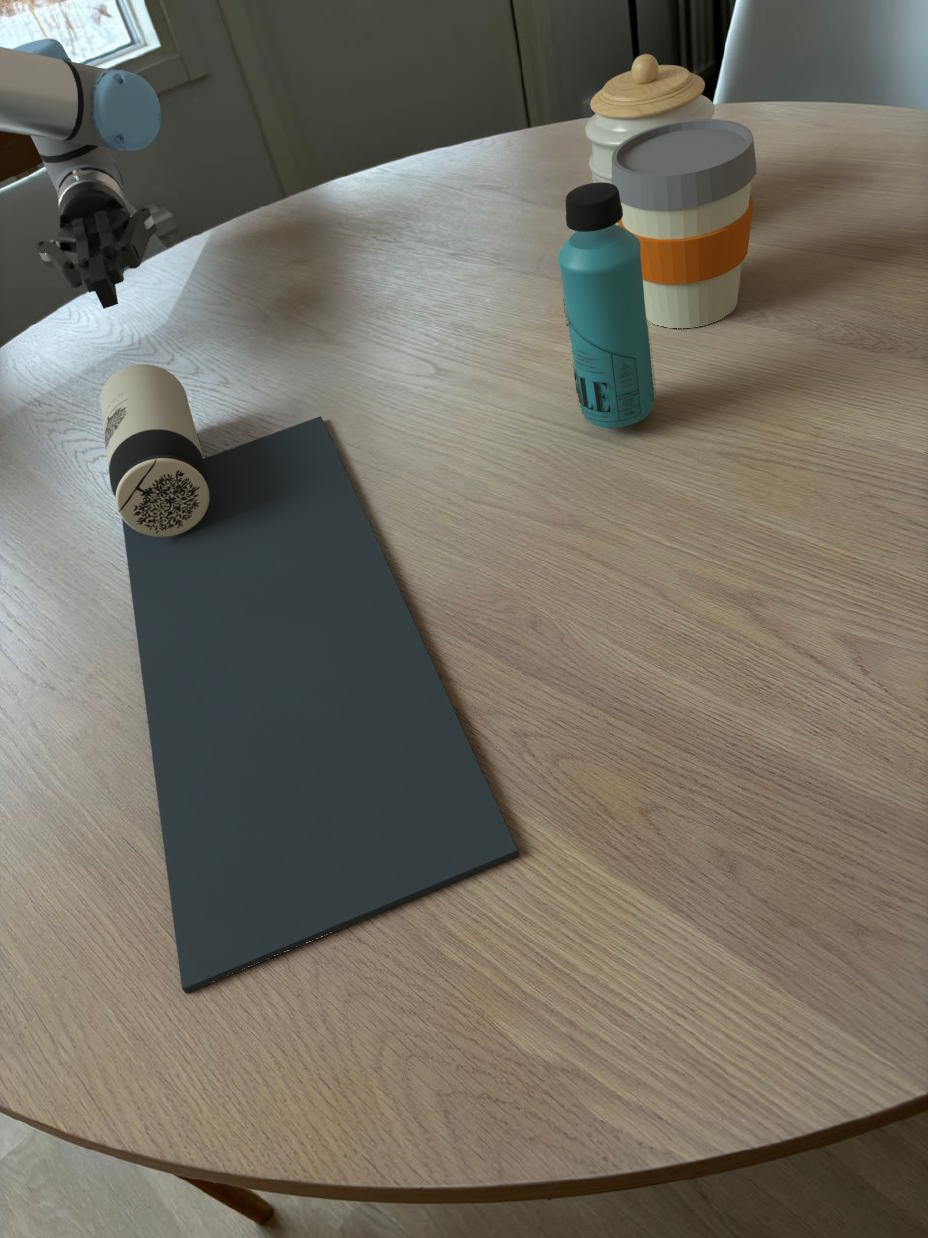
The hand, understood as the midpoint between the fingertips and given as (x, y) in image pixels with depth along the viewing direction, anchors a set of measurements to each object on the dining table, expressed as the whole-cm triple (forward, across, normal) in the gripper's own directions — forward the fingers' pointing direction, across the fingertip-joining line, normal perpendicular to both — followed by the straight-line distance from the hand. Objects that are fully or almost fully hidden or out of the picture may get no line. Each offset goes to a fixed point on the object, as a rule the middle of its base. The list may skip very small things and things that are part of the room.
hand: (104, 293), depth 98 cm
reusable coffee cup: (+18, +52, +12) cm, 57 cm away
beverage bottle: (+32, +38, +12) cm, 51 cm away
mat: (+42, +5, +12) cm, 44 cm away
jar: (+1, +57, +12) cm, 58 cm away
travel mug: (+8, 0, +8) cm, 11 cm away
